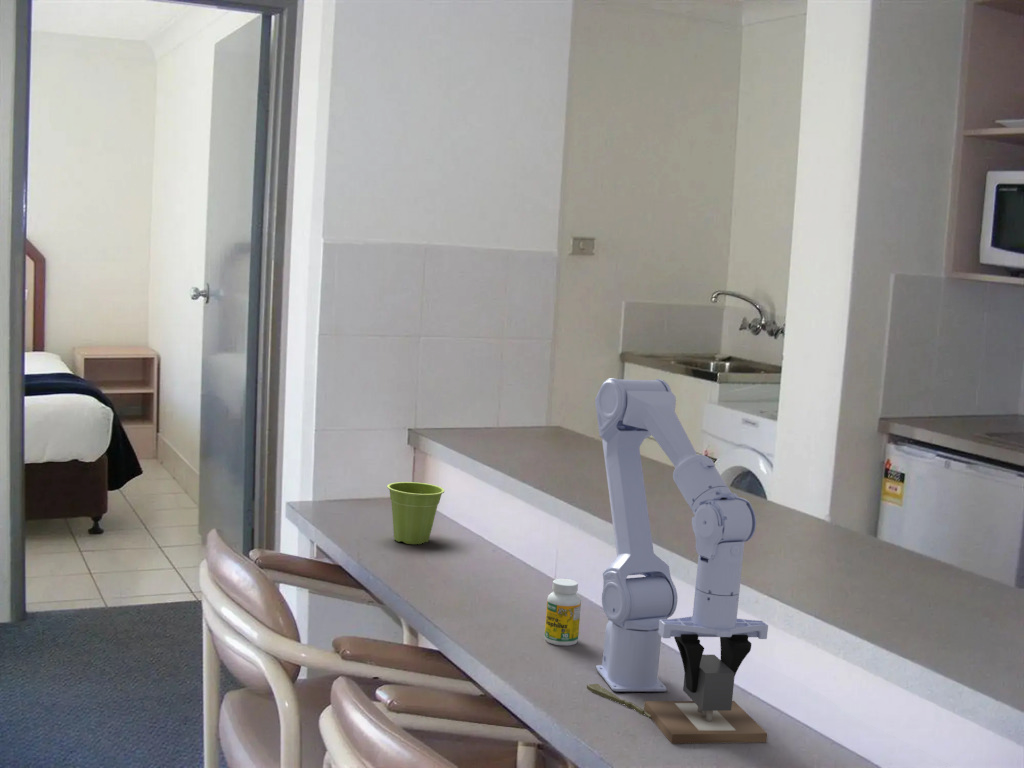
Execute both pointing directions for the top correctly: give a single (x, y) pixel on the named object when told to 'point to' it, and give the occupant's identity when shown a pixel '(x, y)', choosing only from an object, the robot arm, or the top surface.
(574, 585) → the supplement bottle
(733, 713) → the pin board
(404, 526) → the plant pot
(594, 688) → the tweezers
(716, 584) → the robot arm
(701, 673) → the block
